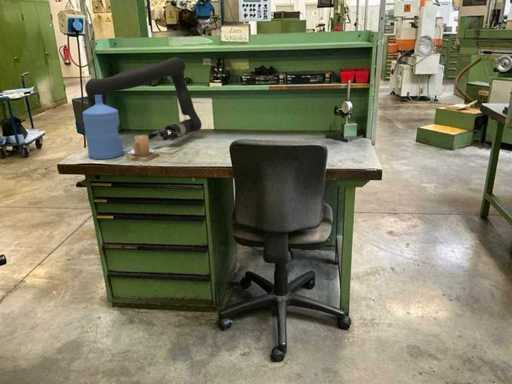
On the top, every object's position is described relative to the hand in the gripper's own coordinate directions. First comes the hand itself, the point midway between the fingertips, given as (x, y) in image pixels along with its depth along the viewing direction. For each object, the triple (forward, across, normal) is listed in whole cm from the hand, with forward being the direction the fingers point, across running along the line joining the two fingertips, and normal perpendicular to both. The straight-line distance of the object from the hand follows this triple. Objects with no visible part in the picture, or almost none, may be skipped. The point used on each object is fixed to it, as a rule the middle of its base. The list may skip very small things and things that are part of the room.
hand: (156, 137), depth 199 cm
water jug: (+14, -19, +7) cm, 25 cm away
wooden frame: (+11, 0, +7) cm, 13 cm away
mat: (-3, +4, +7) cm, 9 cm away
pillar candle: (+12, 0, +7) cm, 14 cm away
